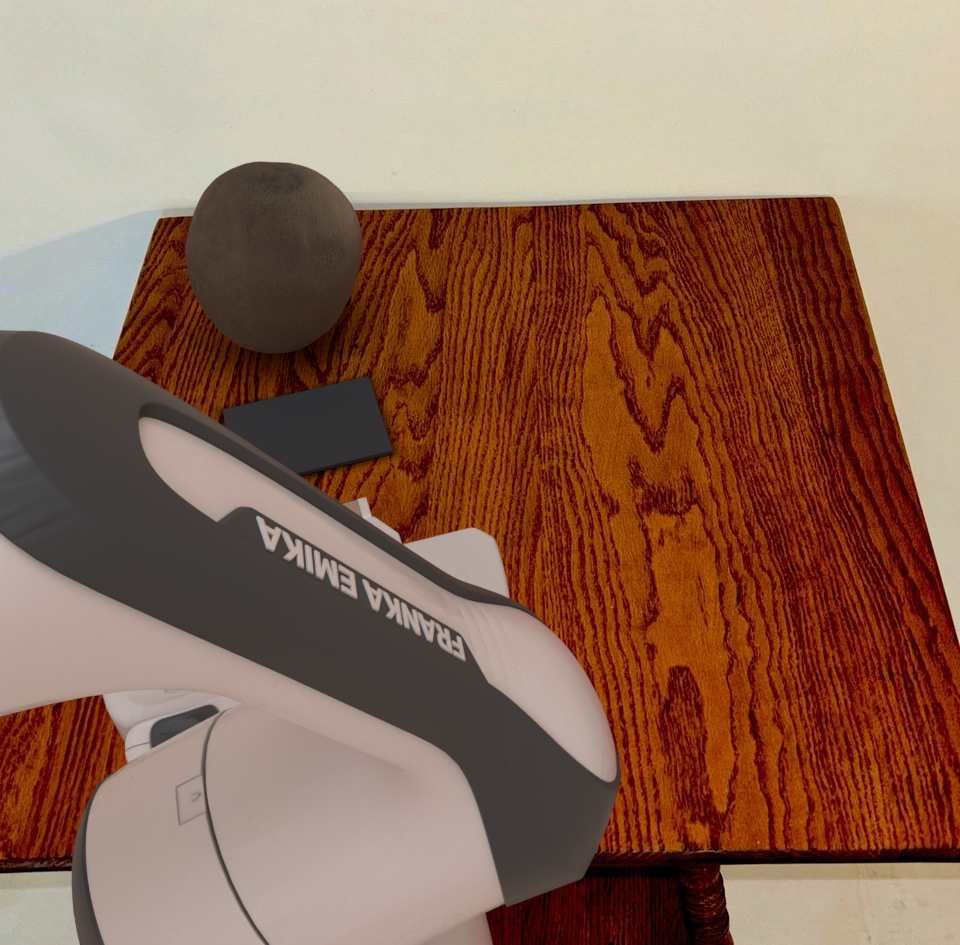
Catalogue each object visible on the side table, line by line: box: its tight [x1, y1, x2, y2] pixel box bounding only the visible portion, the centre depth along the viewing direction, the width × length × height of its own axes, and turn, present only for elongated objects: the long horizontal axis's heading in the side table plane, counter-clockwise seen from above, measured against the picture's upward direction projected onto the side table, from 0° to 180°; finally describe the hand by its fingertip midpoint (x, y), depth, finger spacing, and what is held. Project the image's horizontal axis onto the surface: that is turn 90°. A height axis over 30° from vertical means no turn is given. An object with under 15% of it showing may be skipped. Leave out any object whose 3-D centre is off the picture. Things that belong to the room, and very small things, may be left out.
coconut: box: [184, 160, 364, 355], centre depth 85 cm, size 14×14×15 cm
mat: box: [222, 376, 394, 477], centre depth 81 cm, size 12×9×1 cm
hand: (288, 522), depth 56 cm, fingers closed on vegetable, 6 cm apart
